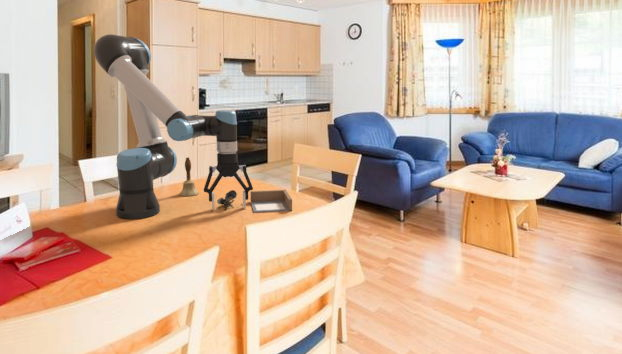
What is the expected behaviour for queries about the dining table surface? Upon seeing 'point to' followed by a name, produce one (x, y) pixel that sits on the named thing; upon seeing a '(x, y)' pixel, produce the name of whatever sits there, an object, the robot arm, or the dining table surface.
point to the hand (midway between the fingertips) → (229, 208)
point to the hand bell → (188, 182)
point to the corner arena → (271, 201)
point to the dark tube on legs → (227, 199)
